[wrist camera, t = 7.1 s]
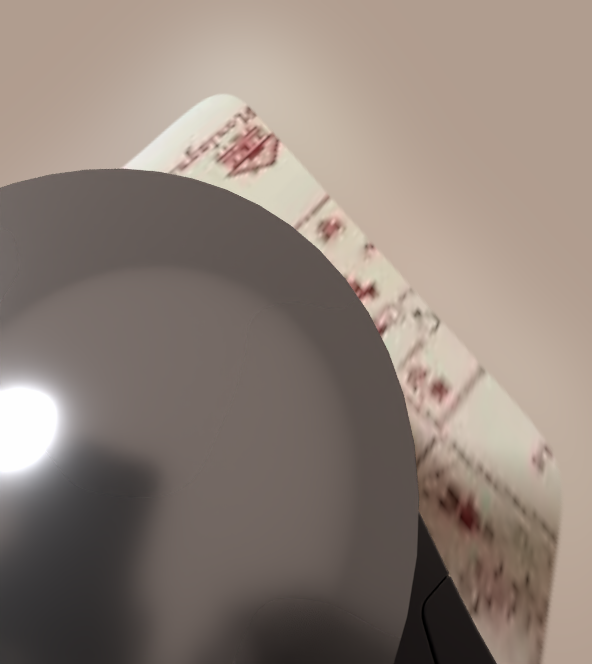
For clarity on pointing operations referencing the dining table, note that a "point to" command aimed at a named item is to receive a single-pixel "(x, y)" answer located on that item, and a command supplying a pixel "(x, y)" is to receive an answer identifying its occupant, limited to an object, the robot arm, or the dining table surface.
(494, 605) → the dining table surface
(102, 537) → the grey metal cylinder
